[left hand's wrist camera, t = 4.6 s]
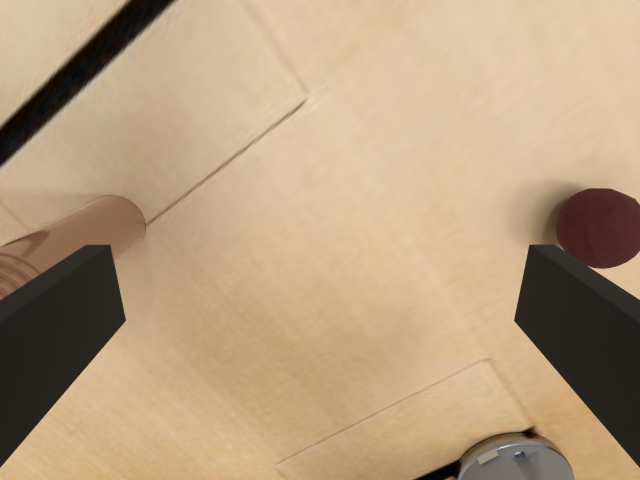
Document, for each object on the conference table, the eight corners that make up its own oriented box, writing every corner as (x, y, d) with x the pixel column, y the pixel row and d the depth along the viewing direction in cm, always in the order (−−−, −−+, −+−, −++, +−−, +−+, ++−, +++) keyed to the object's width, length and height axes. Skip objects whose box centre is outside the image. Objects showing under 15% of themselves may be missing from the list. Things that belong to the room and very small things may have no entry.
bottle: (142, 255, 42) (-10, 393, 23) (86, 241, 42) (-120, 371, 22) (149, 203, 40) (-12, 307, 21) (90, 188, 40) (-133, 280, 20)
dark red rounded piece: (558, 262, 43) (601, 293, 36) (529, 205, 40) (570, 227, 34) (624, 227, 41) (682, 252, 35) (598, 165, 39) (656, 180, 32)
